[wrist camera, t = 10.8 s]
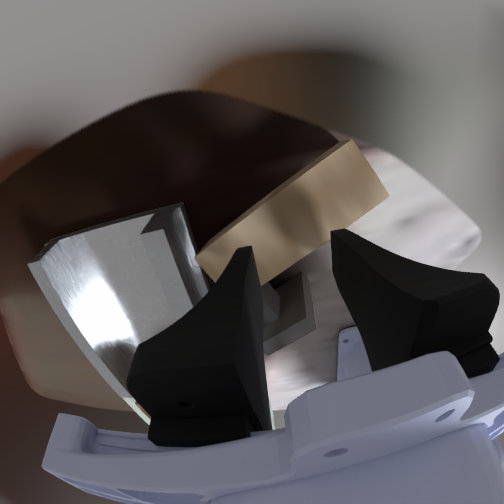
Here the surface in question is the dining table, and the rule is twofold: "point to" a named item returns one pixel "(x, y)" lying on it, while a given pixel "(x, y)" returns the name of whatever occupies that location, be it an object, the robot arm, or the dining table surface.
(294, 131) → the dining table surface
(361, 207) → the tan block
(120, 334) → the silver metal tray
